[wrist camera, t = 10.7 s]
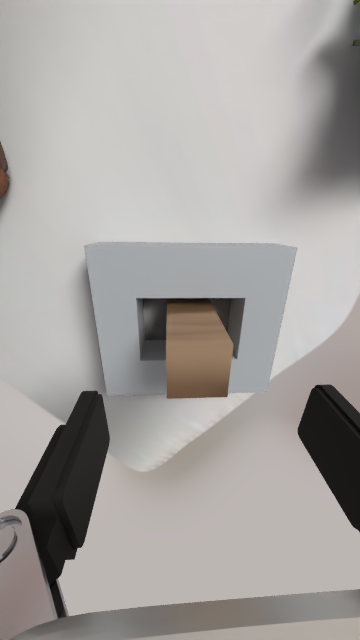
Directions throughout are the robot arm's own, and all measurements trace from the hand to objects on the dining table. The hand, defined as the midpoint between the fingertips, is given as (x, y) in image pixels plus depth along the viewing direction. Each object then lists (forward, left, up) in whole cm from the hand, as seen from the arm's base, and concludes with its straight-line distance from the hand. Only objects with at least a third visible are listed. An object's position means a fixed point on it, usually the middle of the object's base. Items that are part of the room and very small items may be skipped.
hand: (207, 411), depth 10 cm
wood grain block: (+1, 0, -14) cm, 14 cm away
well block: (+1, 0, -14) cm, 14 cm away
